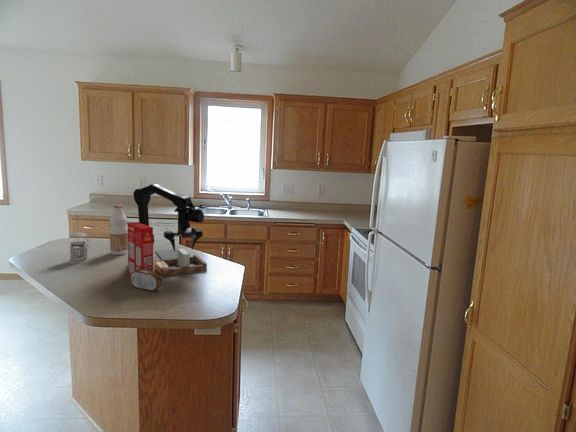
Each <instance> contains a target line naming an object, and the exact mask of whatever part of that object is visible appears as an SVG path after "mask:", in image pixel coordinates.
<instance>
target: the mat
mask: <svg viewBox="0 0 576 432" xmlns="http://www.w3.org/2000/svg"><path fill="white" fill-rule="evenodd" d="M178 249H179V248H175V251H174V250H173V248H172V249H164V250H155V254H156V255H157V256H158V257H159V259H160V260H162V259H172V258H178Z"/></svg>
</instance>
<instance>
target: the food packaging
mask: <svg viewBox="0 0 576 432" xmlns="http://www.w3.org/2000/svg"><path fill="white" fill-rule="evenodd" d="M126 226H127V228H128V253H127V266H128V267H127V268H128V270H127V271H128V274H129V275H131V273H132V272H133V271H135V270H137V269H143V270H148V271H153V272H154V244H153V234H154V227H152V226H150V225H149V226H147V225H145V224H142V223H139V221H137V222H127V225H126Z"/></svg>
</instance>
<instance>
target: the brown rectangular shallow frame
mask: <svg viewBox="0 0 576 432" xmlns="http://www.w3.org/2000/svg"><path fill="white" fill-rule="evenodd" d="M159 261H164V262H165V263H166V264H167V265H168V266H173V265H178V258H172V259H162V260H161V259H155V263H156V262H159ZM191 263H194V264H195V265H190V266H188V267H179V266H178V267H173V268H169V269H163V276H164V277H166V276H175V275H177V276H178V275H183V274H191V273H192V274H193V273H200V272H207V270H208V268H207V266H208V264H207V262H205V260H203V259H202V257H200V256H199V255H197V254H193V256H190V264H191Z"/></svg>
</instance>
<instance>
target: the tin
mask: <svg viewBox="0 0 576 432" xmlns="http://www.w3.org/2000/svg"><path fill="white" fill-rule="evenodd" d="M129 275H130V274H129ZM129 278H130V283H131V285H132V286H133V287H135V288H137V289H141V290H144V291H145V290H146V291H151V292H154V291H156V290H159V289H160V288H161V286H162V284H163V283H162V278H161V276H160V274H158V273H157V272H156V271H154V270H153V271H148V270H143V269H137V270H135V271H133V272H132V273H131V275H130V277H129Z"/></svg>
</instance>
